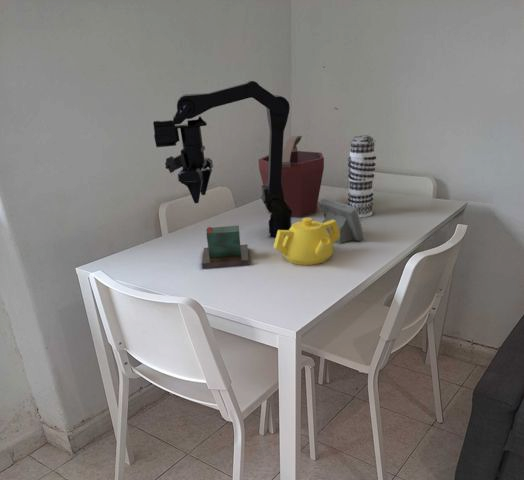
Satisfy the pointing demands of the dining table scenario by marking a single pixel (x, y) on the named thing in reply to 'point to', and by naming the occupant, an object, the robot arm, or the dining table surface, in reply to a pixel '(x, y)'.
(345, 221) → the digital clock
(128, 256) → the dining table surface
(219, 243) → the green box
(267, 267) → the dining table surface
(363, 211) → the black white tall cylinder
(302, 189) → the bucket
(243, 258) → the brown square board
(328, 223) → the teapot
